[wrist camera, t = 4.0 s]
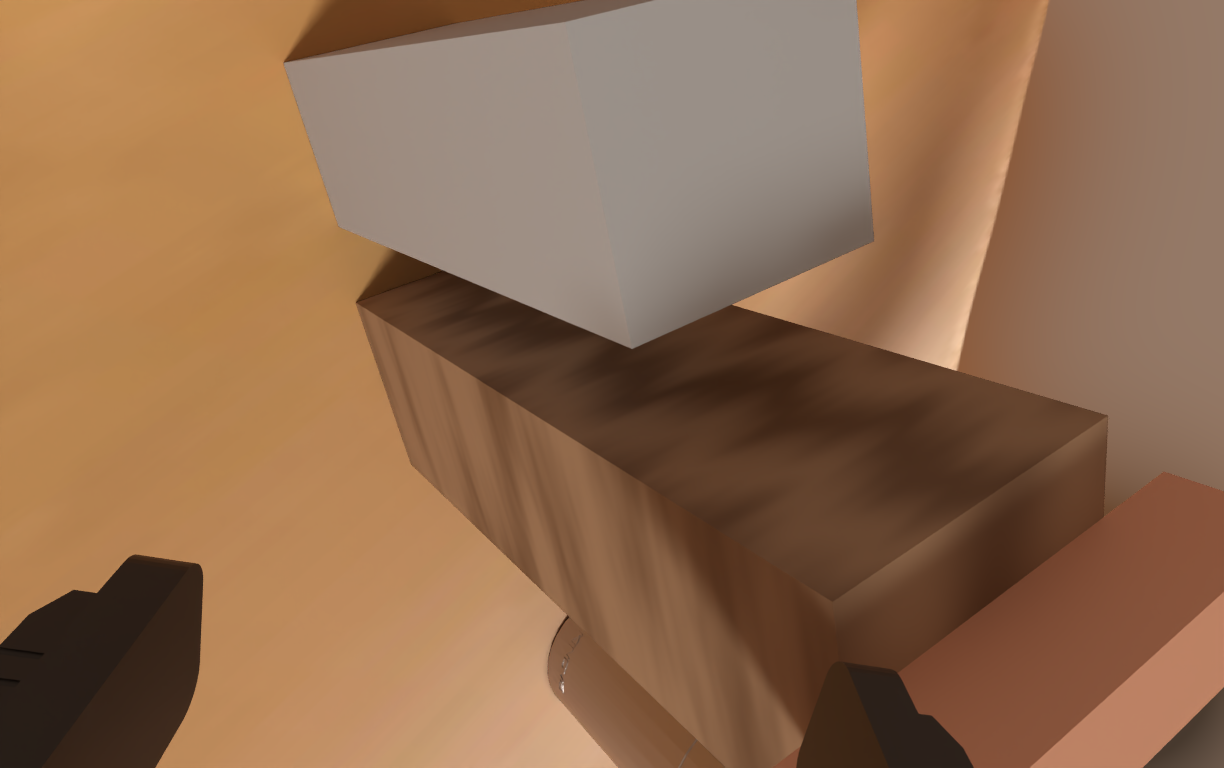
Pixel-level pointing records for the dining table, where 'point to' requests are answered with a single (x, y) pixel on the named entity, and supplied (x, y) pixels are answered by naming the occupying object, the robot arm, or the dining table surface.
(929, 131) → the dining table surface
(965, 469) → the tall post
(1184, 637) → the light orange block
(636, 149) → the short post
